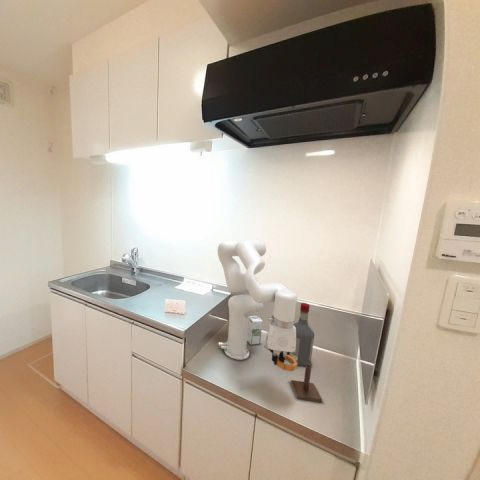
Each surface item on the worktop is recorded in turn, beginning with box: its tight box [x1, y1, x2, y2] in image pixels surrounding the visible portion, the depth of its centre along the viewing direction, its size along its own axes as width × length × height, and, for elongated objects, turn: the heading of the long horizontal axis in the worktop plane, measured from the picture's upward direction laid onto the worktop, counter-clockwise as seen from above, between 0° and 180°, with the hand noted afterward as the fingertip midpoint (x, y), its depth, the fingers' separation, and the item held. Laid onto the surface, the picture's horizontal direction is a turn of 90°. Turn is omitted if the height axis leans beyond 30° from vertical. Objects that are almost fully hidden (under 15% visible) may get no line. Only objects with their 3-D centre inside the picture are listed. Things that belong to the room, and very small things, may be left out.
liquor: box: [288, 302, 315, 367], centre depth 124 cm, size 9×9×30 cm
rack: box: [290, 362, 323, 403], centre depth 105 cm, size 9×9×14 cm
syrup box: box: [247, 315, 263, 346], centre depth 141 cm, size 6×6×14 cm
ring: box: [276, 353, 298, 372], centre depth 101 cm, size 8×8×2 cm
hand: (277, 362), depth 102 cm, fingers closed on ring, 1 cm apart
